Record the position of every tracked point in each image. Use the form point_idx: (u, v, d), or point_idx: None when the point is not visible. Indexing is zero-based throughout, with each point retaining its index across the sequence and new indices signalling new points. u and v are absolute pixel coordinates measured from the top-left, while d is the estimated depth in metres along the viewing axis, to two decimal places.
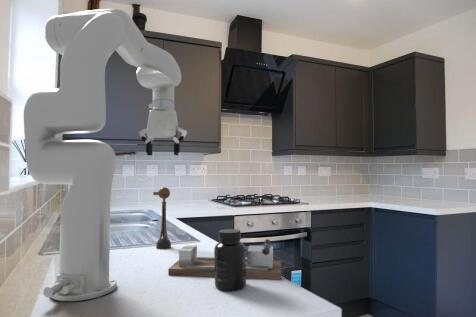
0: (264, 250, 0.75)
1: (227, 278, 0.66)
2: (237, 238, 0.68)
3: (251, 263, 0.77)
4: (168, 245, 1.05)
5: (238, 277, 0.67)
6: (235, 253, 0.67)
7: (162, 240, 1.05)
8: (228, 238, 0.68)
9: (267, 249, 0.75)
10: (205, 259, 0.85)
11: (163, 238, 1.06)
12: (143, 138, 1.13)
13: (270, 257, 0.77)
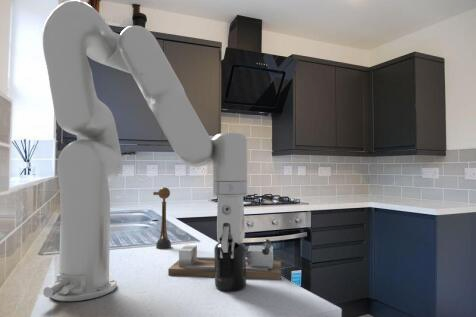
0: (264, 250, 0.75)
1: (227, 278, 0.66)
2: None
3: (251, 263, 0.77)
4: (168, 245, 1.05)
5: (238, 277, 0.67)
6: (235, 253, 0.67)
7: (162, 240, 1.05)
8: None
9: (267, 249, 0.75)
10: (205, 259, 0.85)
11: (163, 238, 1.06)
12: None
13: (270, 257, 0.77)
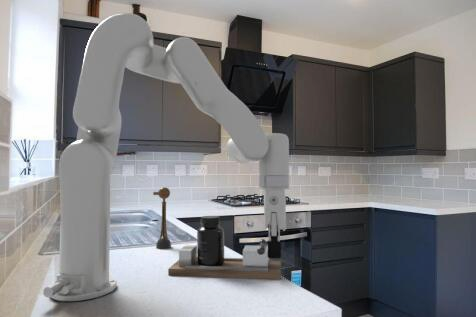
0: (259, 250, 0.75)
1: (207, 256, 0.78)
2: (216, 222, 0.80)
3: (246, 263, 0.77)
4: (168, 245, 1.05)
5: (216, 255, 0.78)
6: (214, 235, 0.78)
7: (162, 240, 1.05)
8: (208, 222, 0.79)
9: (262, 249, 0.75)
10: None
11: (163, 238, 1.06)
12: (277, 235, 0.77)
13: (265, 257, 0.77)
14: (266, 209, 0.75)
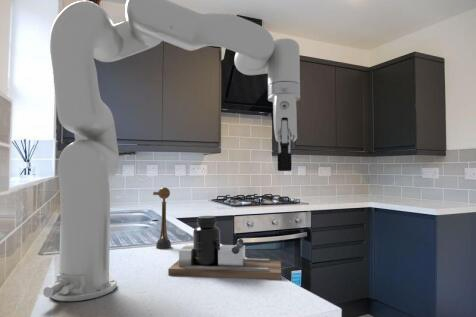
0: (233, 249, 0.75)
1: (203, 256, 0.78)
2: (212, 222, 0.80)
3: (221, 262, 0.78)
4: (168, 245, 1.05)
5: (212, 255, 0.78)
6: (210, 235, 0.78)
7: (162, 240, 1.05)
8: (204, 222, 0.79)
9: (236, 248, 0.76)
10: None
11: (163, 238, 1.06)
12: (288, 144, 0.73)
13: (240, 256, 0.77)
14: (276, 115, 0.71)
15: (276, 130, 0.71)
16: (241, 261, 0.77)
